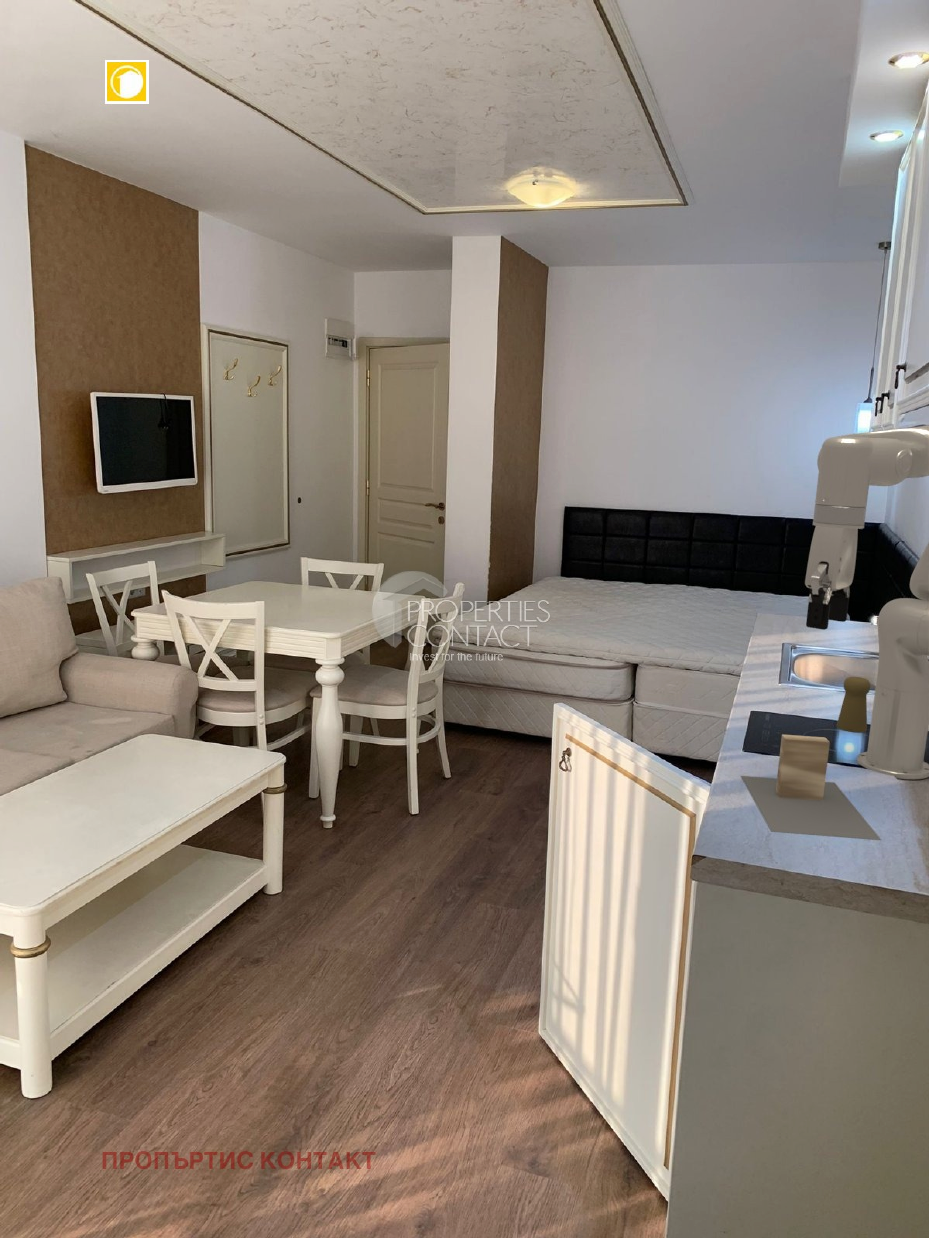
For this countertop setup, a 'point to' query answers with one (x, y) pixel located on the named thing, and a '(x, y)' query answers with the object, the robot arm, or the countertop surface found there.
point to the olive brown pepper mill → (854, 705)
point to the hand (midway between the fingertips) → (826, 624)
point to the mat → (808, 811)
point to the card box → (802, 767)
